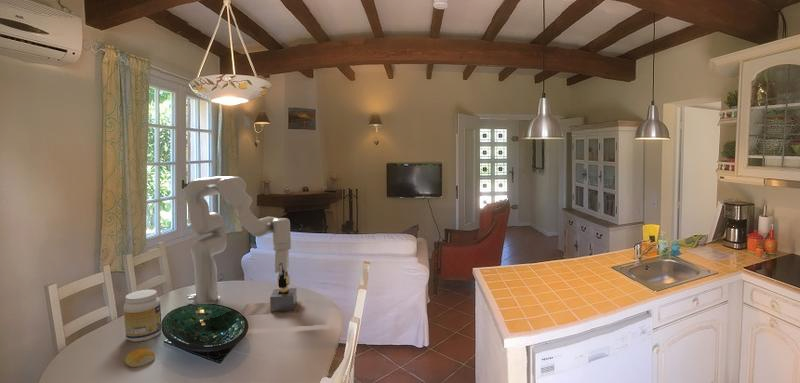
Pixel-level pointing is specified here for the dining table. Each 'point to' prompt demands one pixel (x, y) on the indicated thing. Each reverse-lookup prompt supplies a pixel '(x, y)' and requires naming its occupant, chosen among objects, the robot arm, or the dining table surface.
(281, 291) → the brass pin
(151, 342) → the dining table surface
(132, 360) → the bread roll
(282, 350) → the dining table surface
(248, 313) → the mount plate
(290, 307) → the hitch block
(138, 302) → the supplement tub
